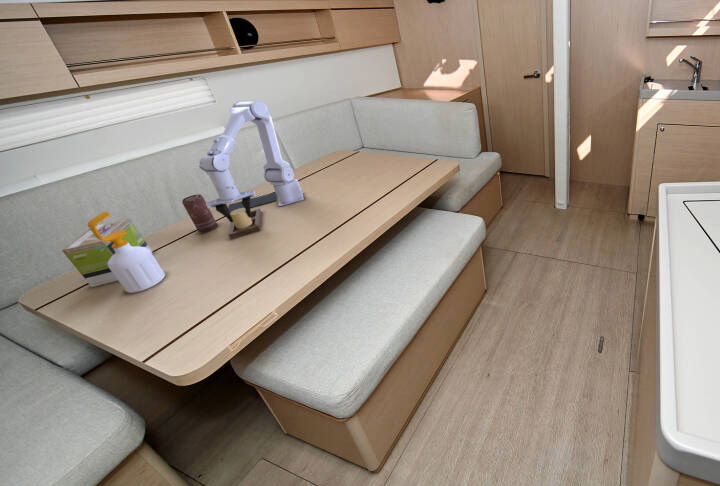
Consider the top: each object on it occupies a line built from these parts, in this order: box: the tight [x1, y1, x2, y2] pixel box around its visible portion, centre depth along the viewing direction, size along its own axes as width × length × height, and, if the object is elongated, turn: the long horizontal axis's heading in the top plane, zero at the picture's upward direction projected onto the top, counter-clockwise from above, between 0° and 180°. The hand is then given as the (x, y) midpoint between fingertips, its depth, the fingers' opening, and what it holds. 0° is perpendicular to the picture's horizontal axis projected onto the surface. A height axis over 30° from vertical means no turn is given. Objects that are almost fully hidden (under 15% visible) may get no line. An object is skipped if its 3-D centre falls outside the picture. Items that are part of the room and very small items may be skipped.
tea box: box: [61, 217, 154, 288], centre depth 113 cm, size 15×10×15 cm, turn 22°
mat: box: [228, 191, 278, 213], centre depth 154 cm, size 18×10×1 cm, turn 122°
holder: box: [228, 207, 263, 240], centre depth 136 cm, size 9×17×2 cm, turn 32°
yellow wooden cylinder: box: [230, 208, 253, 230], centre depth 132 cm, size 5×5×6 cm
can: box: [181, 193, 218, 234], centre depth 134 cm, size 6×6×14 cm
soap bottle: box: [87, 211, 166, 294], centre depth 103 cm, size 9×9×25 cm
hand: (241, 218), depth 132 cm, fingers closed on yellow wooden cylinder, 5 cm apart
